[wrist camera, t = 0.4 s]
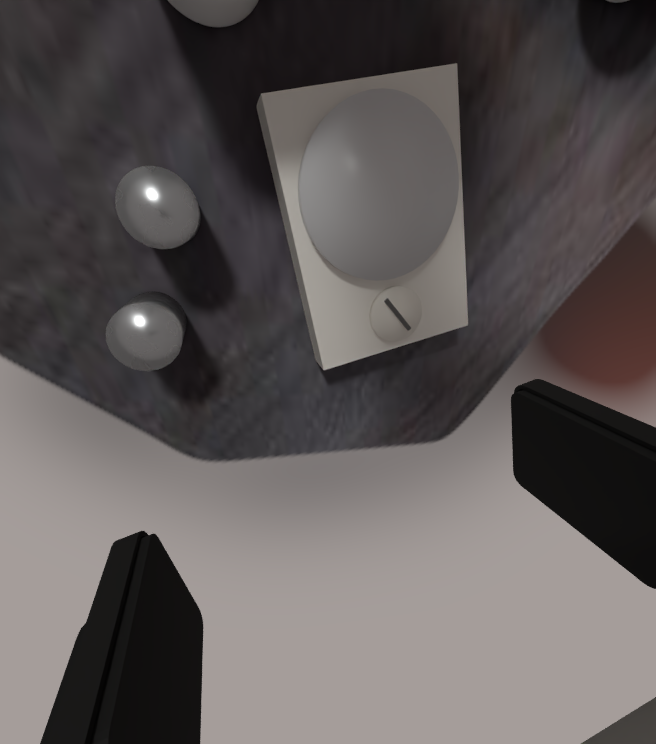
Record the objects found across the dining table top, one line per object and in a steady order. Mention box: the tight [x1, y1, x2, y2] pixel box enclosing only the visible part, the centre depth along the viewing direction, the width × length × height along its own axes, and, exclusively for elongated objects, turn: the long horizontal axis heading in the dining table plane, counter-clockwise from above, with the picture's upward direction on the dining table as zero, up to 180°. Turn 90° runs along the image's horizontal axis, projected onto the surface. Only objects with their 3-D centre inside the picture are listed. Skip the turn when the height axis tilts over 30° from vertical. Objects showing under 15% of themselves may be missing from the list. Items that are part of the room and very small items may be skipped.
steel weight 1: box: [115, 166, 201, 249], centre depth 27 cm, size 5×5×6 cm
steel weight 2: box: [106, 292, 187, 371], centre depth 29 cm, size 5×5×6 cm
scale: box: [256, 63, 468, 370], centre depth 33 cm, size 22×16×4 cm
